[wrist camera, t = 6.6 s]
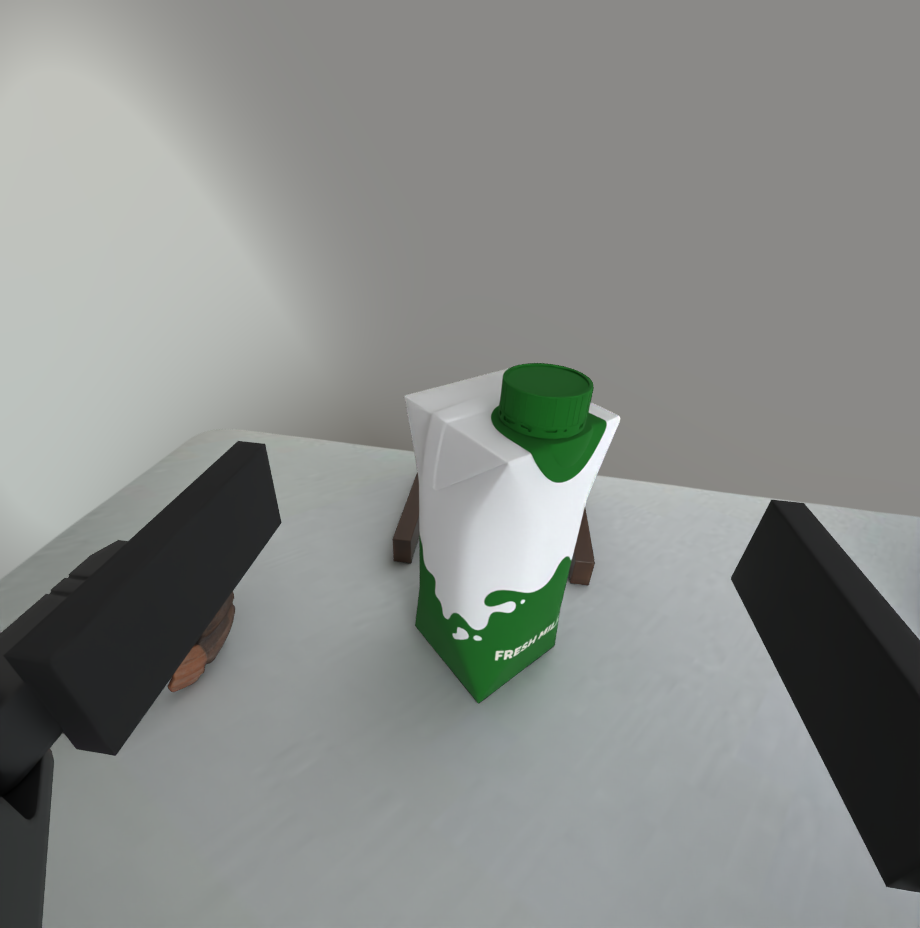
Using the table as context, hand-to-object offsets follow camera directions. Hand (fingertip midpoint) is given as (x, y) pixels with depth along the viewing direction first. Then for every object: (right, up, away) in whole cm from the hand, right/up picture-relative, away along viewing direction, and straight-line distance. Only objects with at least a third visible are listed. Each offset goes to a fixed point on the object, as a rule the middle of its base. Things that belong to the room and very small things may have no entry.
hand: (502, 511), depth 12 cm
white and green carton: (0, -11, +20) cm, 23 cm away
